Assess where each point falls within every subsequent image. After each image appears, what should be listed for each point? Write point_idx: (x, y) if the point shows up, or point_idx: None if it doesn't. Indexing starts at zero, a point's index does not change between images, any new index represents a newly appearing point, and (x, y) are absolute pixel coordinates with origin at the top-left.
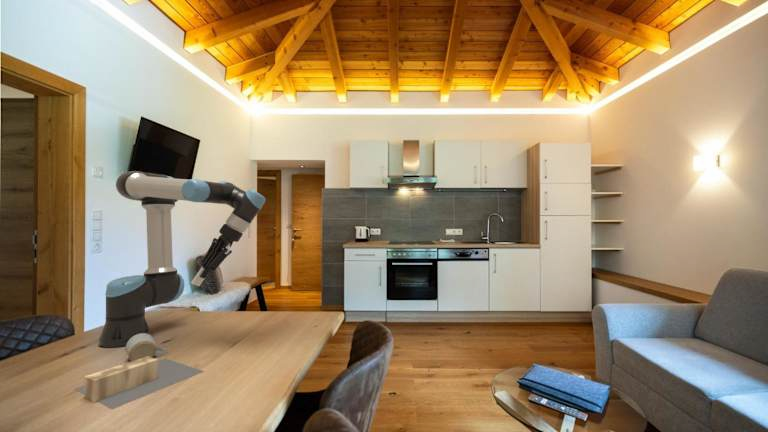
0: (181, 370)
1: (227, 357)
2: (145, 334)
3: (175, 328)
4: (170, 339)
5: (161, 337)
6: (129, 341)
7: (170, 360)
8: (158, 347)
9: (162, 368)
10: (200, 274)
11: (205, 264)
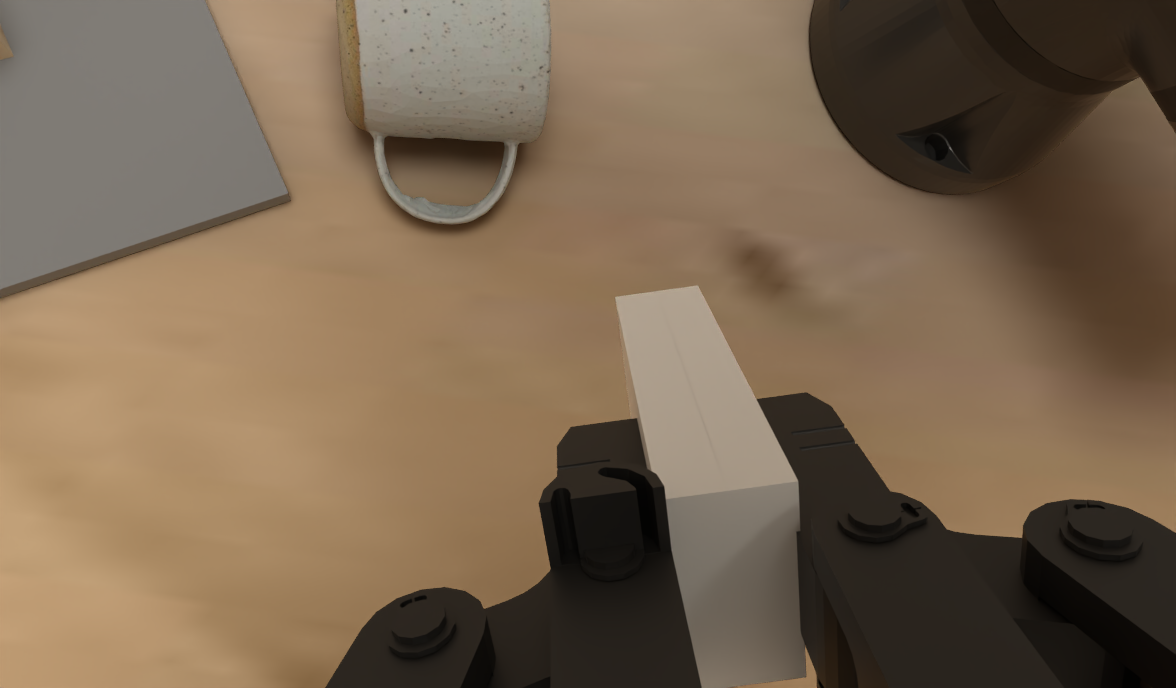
0: None
1: (27, 604)
2: (515, 32)
3: (1043, 362)
4: (790, 297)
5: (874, 253)
6: None
7: (209, 215)
8: (503, 170)
9: (61, 146)
10: (640, 429)
11: (826, 592)
